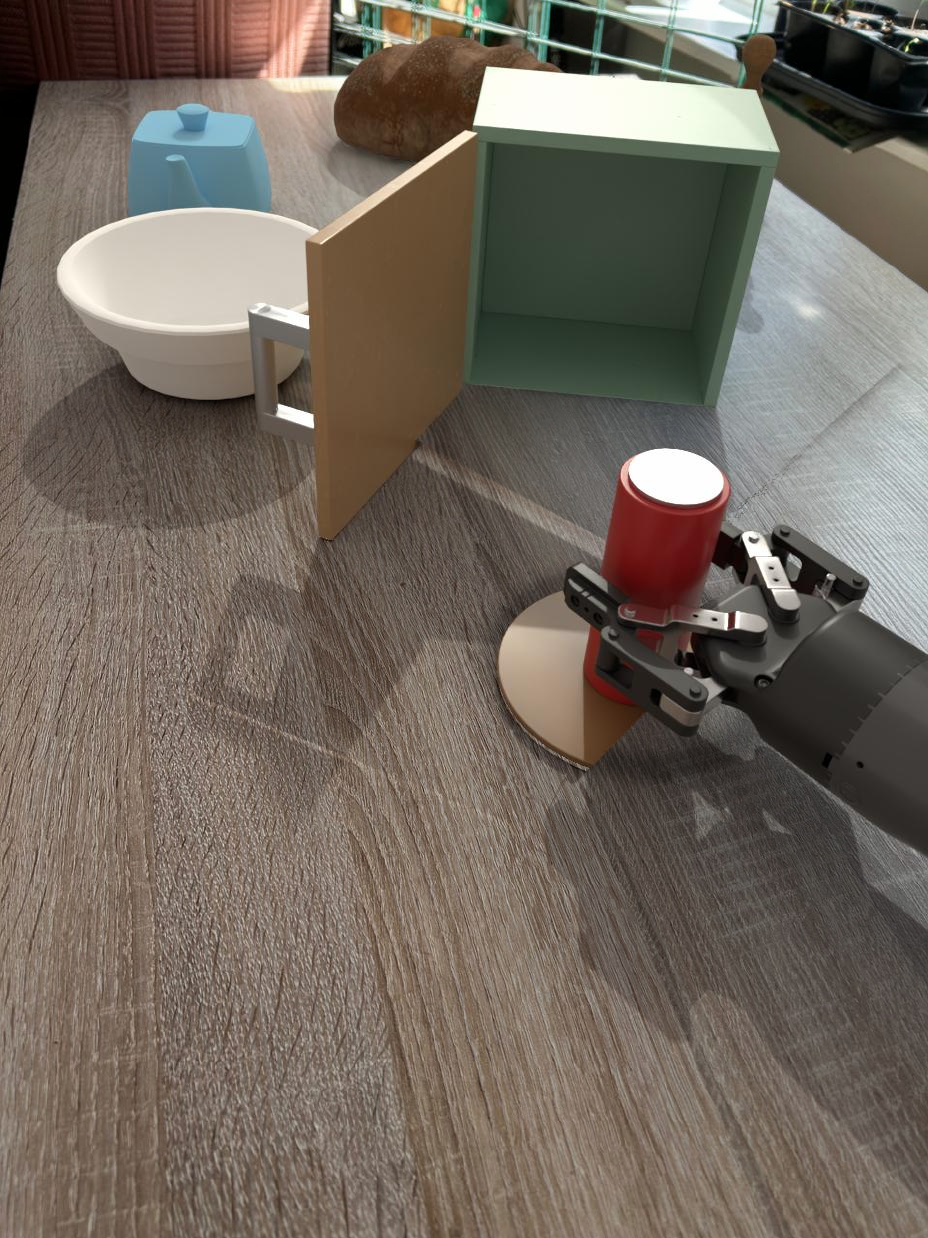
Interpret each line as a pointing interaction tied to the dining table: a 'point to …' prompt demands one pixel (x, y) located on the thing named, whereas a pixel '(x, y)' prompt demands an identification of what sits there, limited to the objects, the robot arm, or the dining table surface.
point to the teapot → (197, 162)
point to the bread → (420, 94)
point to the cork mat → (558, 683)
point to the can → (660, 538)
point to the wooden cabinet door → (376, 329)
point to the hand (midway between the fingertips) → (626, 546)
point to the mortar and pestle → (757, 60)
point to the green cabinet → (612, 233)
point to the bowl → (189, 294)
